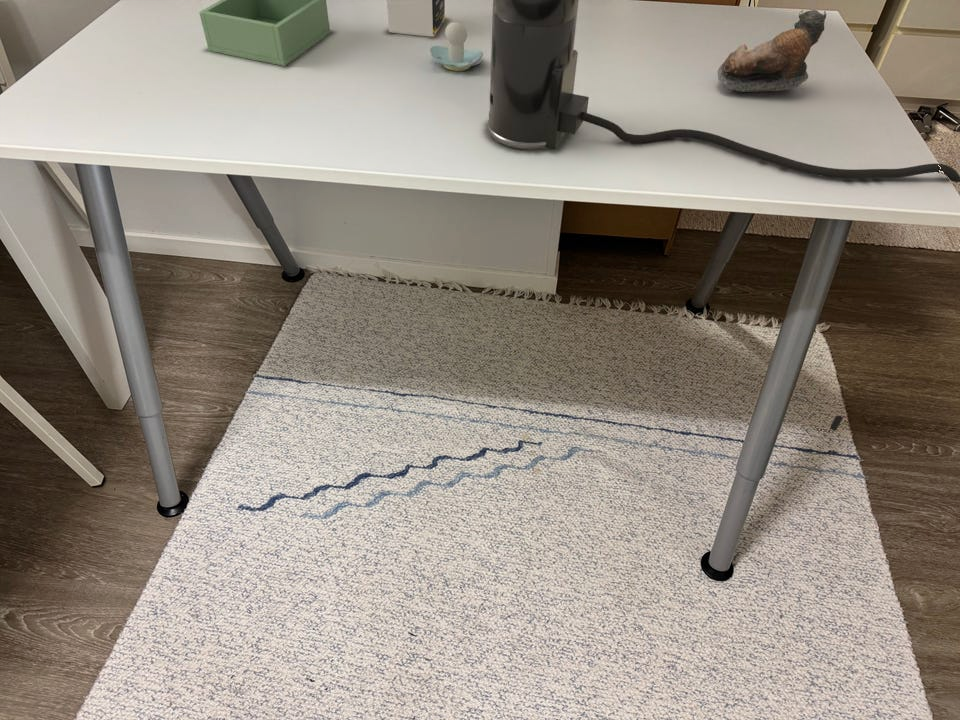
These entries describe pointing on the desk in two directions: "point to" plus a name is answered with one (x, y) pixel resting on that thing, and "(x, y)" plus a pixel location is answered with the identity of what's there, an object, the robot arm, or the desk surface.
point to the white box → (415, 16)
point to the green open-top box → (265, 28)
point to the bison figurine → (774, 59)
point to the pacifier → (456, 50)
